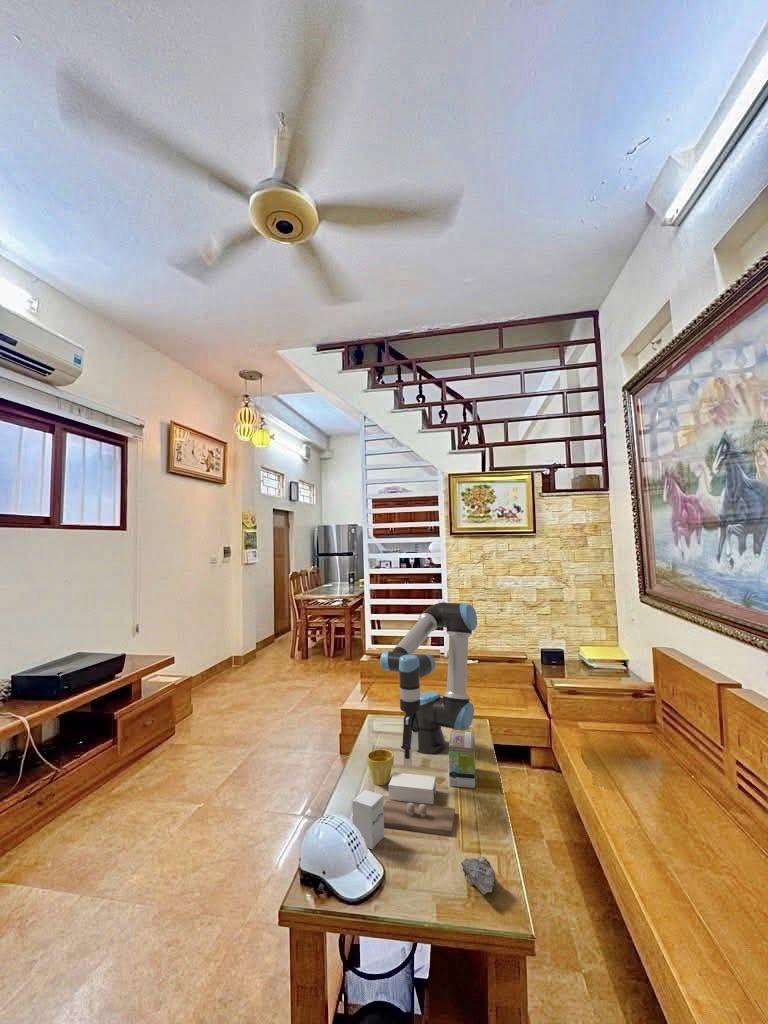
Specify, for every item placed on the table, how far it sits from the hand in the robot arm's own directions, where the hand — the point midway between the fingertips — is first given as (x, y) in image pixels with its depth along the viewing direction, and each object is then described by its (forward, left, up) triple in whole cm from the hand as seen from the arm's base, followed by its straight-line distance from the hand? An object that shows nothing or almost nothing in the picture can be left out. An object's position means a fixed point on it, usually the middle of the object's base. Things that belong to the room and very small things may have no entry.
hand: (411, 758), depth 161 cm
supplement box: (+27, -9, -13) cm, 31 cm away
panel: (0, 0, -13) cm, 13 cm away
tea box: (-16, +17, -13) cm, 27 cm away
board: (+14, +4, -13) cm, 19 cm away
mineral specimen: (+40, +26, -13) cm, 49 cm away
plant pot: (-7, -14, -13) cm, 21 cm away
